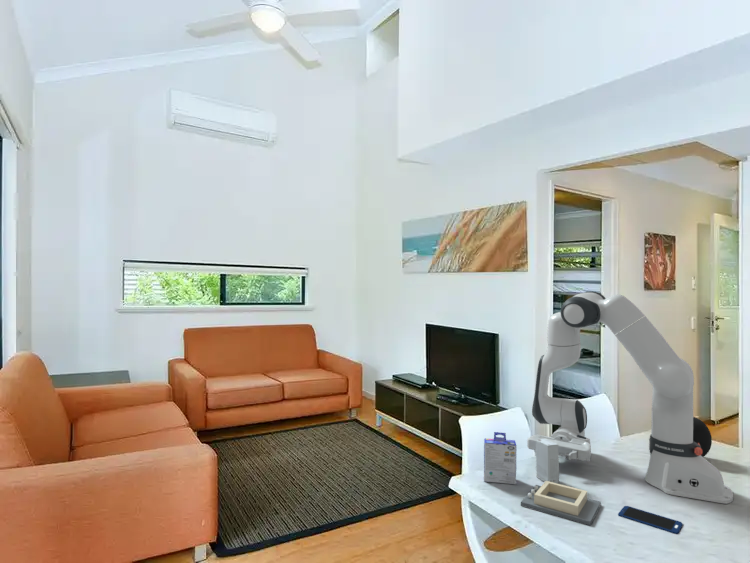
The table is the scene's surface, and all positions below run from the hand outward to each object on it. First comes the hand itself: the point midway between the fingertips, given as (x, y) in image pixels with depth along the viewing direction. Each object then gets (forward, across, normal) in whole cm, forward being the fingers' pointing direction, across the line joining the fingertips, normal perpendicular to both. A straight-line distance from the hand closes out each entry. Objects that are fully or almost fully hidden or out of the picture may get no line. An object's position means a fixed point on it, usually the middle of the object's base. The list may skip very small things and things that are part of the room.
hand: (552, 454), depth 153 cm
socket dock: (+21, +8, +6) cm, 24 cm away
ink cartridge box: (+15, -12, +7) cm, 20 cm away
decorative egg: (-45, +36, +7) cm, 58 cm away
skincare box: (+6, 0, +7) cm, 9 cm away
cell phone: (+15, +29, +7) cm, 34 cm away
